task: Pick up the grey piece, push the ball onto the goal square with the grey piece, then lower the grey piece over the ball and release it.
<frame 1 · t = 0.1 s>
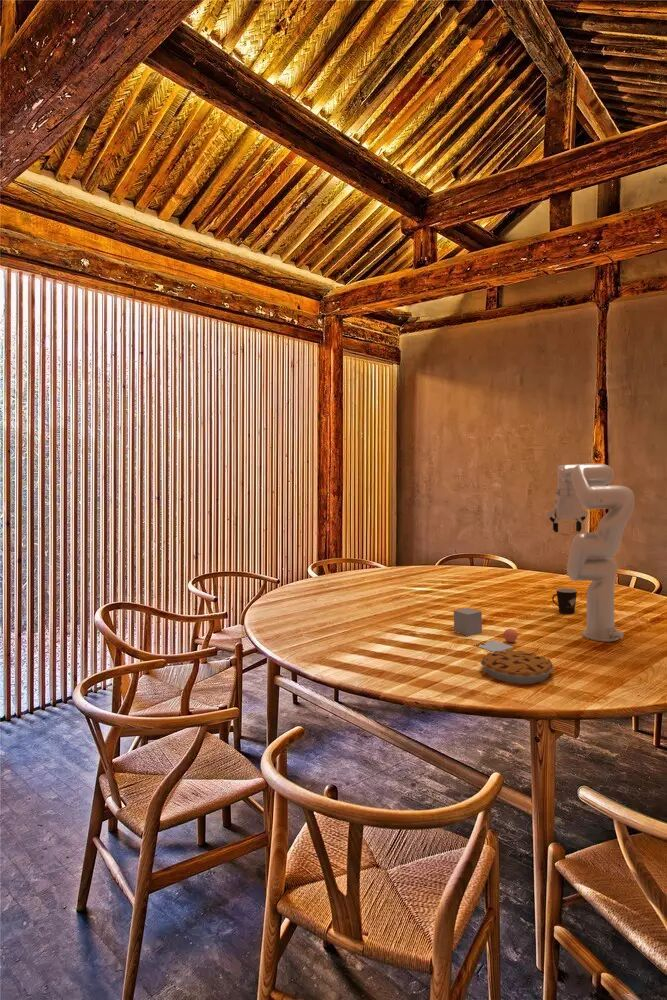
hand: (567, 531, 238), 37 cm above the table, tool pointing down, fingers open, 9 cm apart
ball: (510, 635, 204), on the table
grey piece: (467, 632, 217), on the table
coffee mug: (563, 612, 245), on the table
pie: (516, 674, 173), on the table
goal square: (493, 646, 200), on the table
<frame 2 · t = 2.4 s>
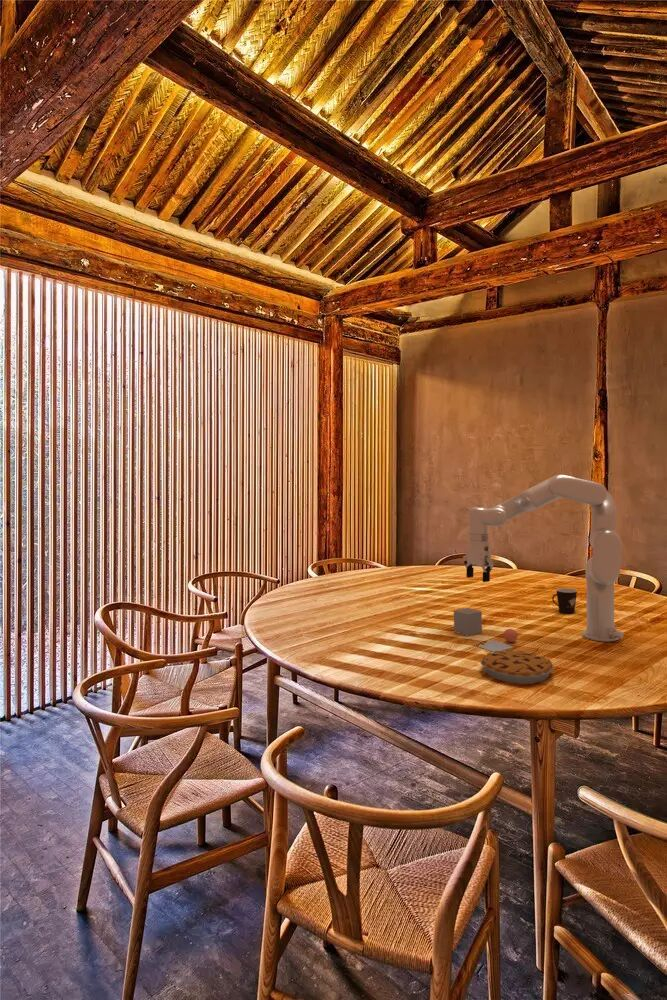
hand: (477, 579, 219), 21 cm above the table, tool pointing down, fingers open, 9 cm apart
nothing on the table moved.
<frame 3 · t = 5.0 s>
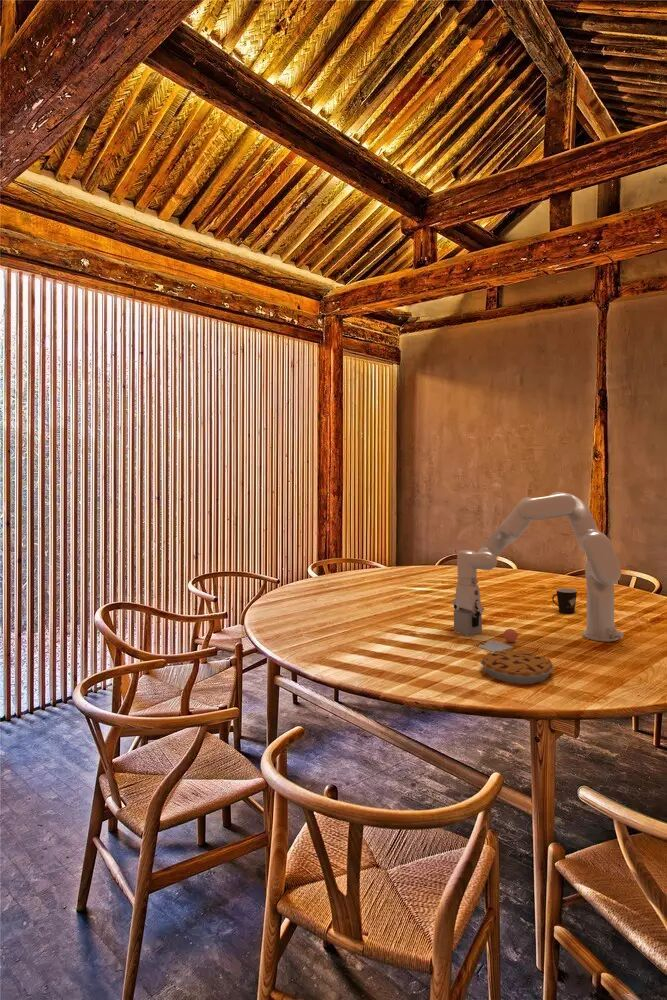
hand: (467, 624, 217), 3 cm above the table, tool pointing down, fingers closed on grey piece, 7 cm apart
grey piece: (467, 632, 217), on the table, touching gripper
everything else where it was.
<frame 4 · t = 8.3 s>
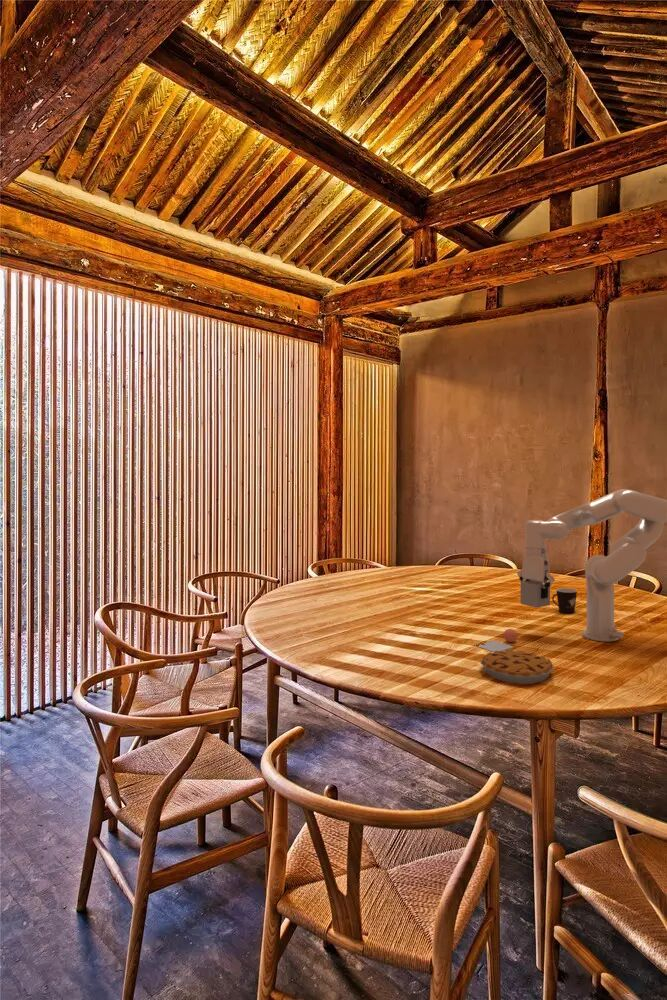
hand: (535, 595, 211), 16 cm above the table, tool pointing down, fingers closed on grey piece, 7 cm apart
grey piece: (535, 604, 212), point 12 cm above the table, touching gripper
everything else where it was.
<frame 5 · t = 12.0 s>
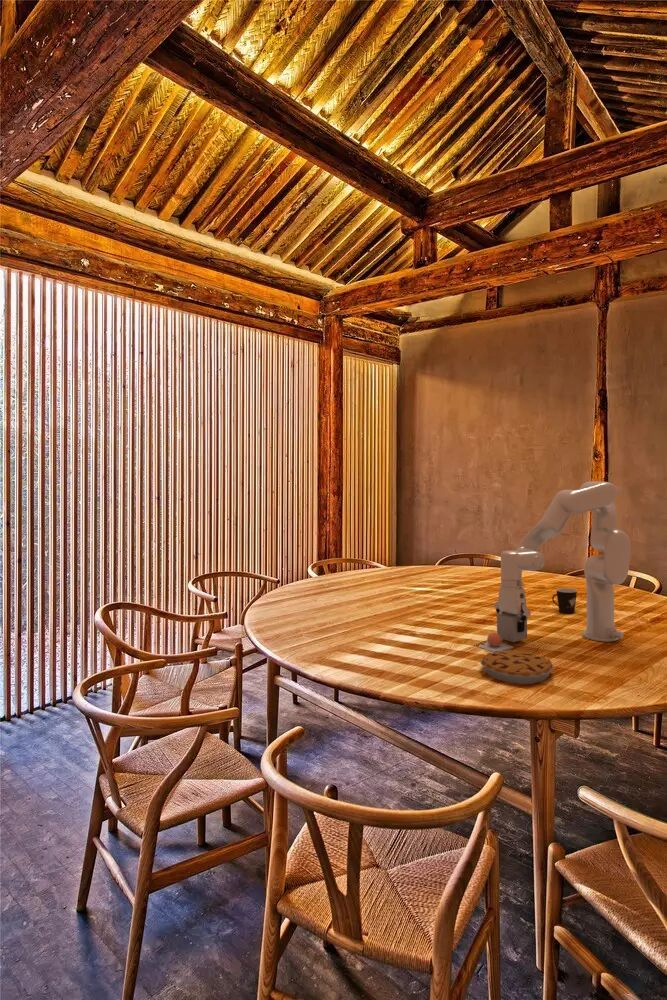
hand: (511, 628, 204), 5 cm above the table, tool pointing down, fingers closed on grey piece, 7 cm apart
ball: (494, 639, 199), on the table
grey piece: (512, 637, 205), point 2 cm above the table, touching gripper
everything else where it was.
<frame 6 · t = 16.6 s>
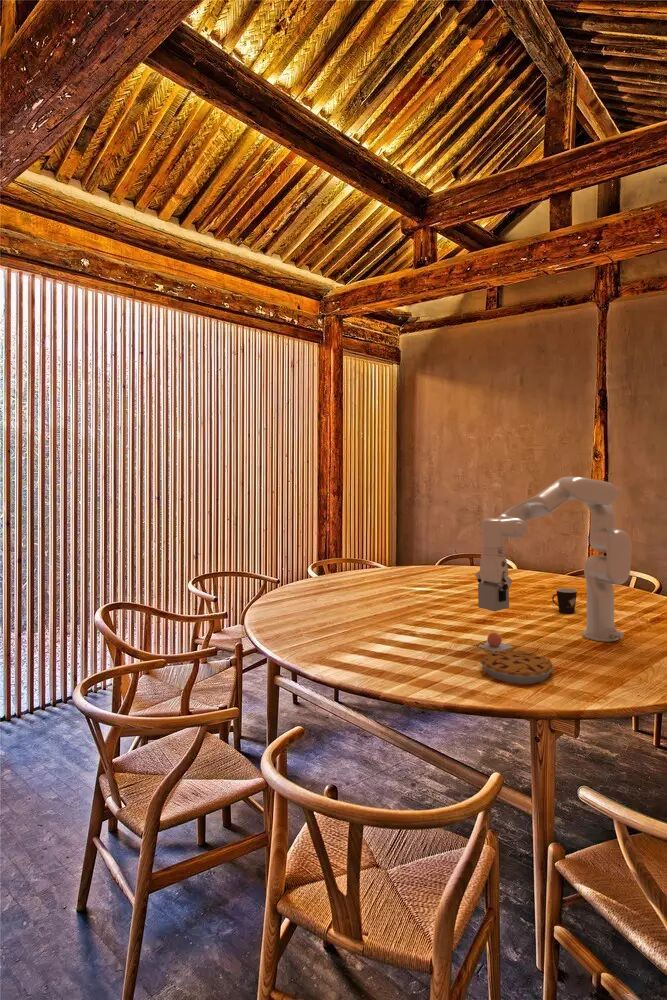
hand: (493, 598, 199), 18 cm above the table, tool pointing down, fingers closed on grey piece, 7 cm apart
grey piece: (493, 607, 199), point 15 cm above the table, touching gripper
everything else where it was.
when the fingers open (4 cm above the table, at t = 21.1 s): grey piece stays where it is, on the table.
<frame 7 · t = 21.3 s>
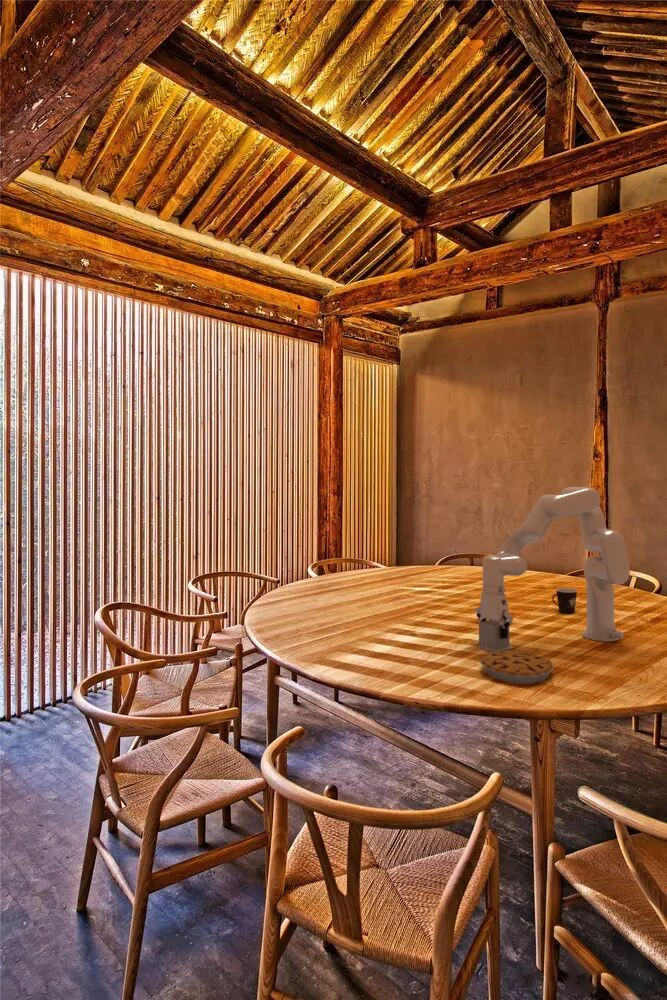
hand: (493, 635, 199), 4 cm above the table, tool pointing down, fingers open, 9 cm apart
grey piece: (494, 646, 200), on the table
everything else where it was.
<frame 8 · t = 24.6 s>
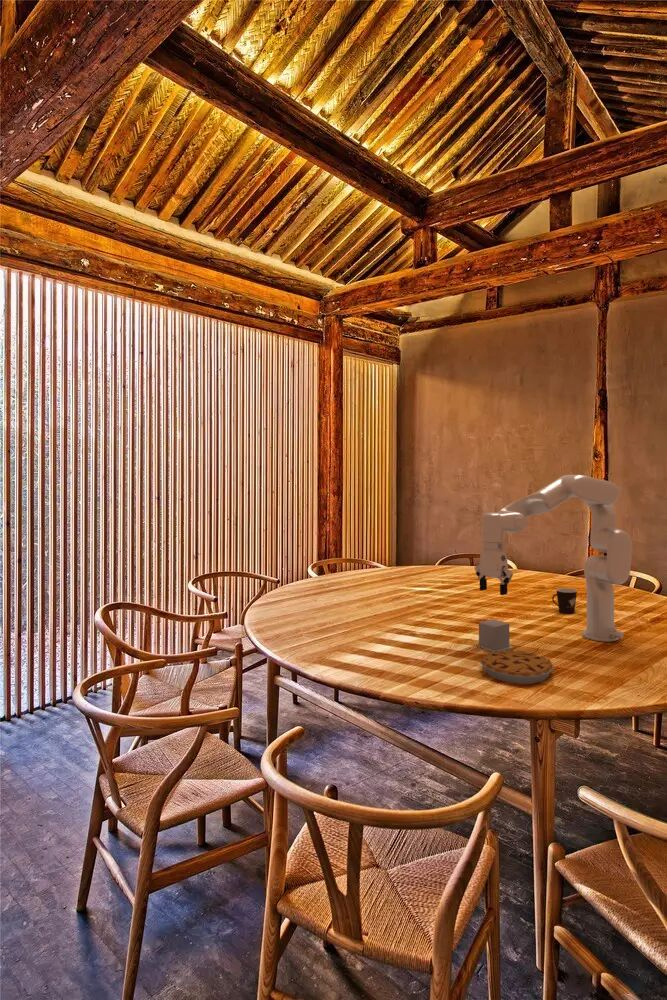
hand: (493, 592, 199), 20 cm above the table, tool pointing down, fingers open, 9 cm apart
nothing on the table moved.
at the end: ball 0.1 cm from the grey piece (horizontally); grey piece on the table; ball moved 8.8 cm from its start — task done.
